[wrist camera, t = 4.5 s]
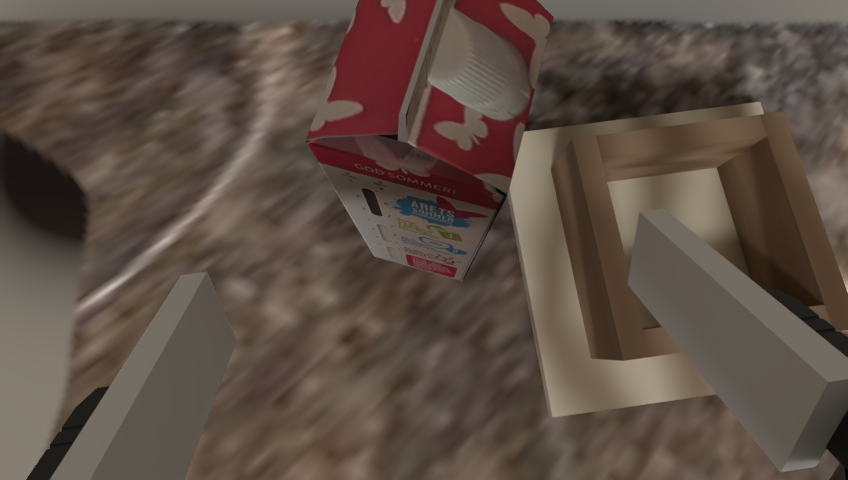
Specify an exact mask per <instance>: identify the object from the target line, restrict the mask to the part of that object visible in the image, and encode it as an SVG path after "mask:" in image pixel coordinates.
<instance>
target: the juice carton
mask: <svg viewBox="0 0 848 480" xmlns="http://www.w3.org/2000/svg"><path fill="white" fill-rule="evenodd" d="M552 20H553V16H552V15H551V14H550V13H549V12H548V11H547V10H545V8H544V7H543V6H542V5H541V4H540V3H539V2H537V1H536V0H359V2H358V4H357V7H356V10H355V12H354V15H353V17H352V20H351V23H350V25H349V28H348V31H347V33H346V36H345V39H344V41H343V44H342V46H341V49H340V52H339V54H338V57H337V60H336V62H335V65H334V68H333V70H332V73H331V76H330V78H329V81H328V83H327V86H326V89H325V91H324V94H323V97H322V99H321V102H320V105H319V107H318V110H317V113H316V115H315V118H314V120H313V123H312V126H311V128H310V131H309V134H308V136H307V139H306V142H307V144H308V145H309V147H310V149H311V151H312V152H313V154H314V156H315V157H316V159H317V161H318V162H319V164H320V166H321V167H322V169H323V171H324V173H325V174H326V176H327V178H328V179H329V181H330V183H331V184H332V186H333V188H334V189H335V191H336V193H337V195H338V196H339V198H340V200H341V201H342V203H343V205H344V206H345V208H346V210H347V211H348V213H349V215H350V217H351V218H352V220H353V222H354V223H355V225H356V227H357V228H358V230H359V232H360V233H361V235H362V237H363V239H364V240H365V242H366V243H367V245H368V247H369V248H370V250H371V252H372V253H373V255H374V256H375V257H378V258H382V259H385V260H389V261H392V262H396V263H399V264H403V265H406V266H410V267H414V268H417V269H421V270H424V271H428V272H431V273H435V274H438V275H442V276H445V277H449V278H452V279H456V280H460V281H463V279H464V278H465V276H466V274H467V272H468V270H469V268H470V266H471V264H472V262H473V260H474V258H475V256H476V255H477V253H478V251H479V249H480V247H481V245H482V243H483V241H484V239H485V237H486V235H487V233H488V231H489V230H490V228H491V226H492V224H493V222H494V220H495V218H496V216H497V214H498V212H499V210H500V208H501V207H502V205H503V203H504V201H505V199H506V197H507V195H508V192H509V188H510V184H511V180H512V176H513V172H514V168H515V164H516V160H517V157H518V153H519V149H520V145H521V141H522V137H523V133H524V129H525V125H526V122H527V118H528V114H529V110H530V106H531V102H532V98H533V94H534V90H535V87H536V83H537V79H538V75H539V71H540V67H541V63H542V59H543V55H544V52H545V48H546V44H547V40H548V36H549V32H550V28H551V24H552Z"/></svg>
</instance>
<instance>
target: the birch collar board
mask: <svg viewBox="0 0 848 480" xmlns="http://www.w3.org/2000/svg"><path fill="white" fill-rule="evenodd" d="M507 196H508V201H509V206H510V212H511V217H512V222H513V228H514V233H515V238H516V244H517V249H518V254H519V260H520V265H521V270H522V276H523V281H524V286H525V292H526V297H527V302H528V308H529V313H530V319H531V324H532V329H533V335H534V340H535V345H536V351H537V356H538V361H539V367H540V372H541V377H542V383H543V388H544V393H545V399H546V404H547V409H548V415H549V416H551V417H559V416H566V415H573V414H580V413H588V412H595V411H602V410H609V409H616V408H623V407H630V406H637V405H644V404H651V403H658V402H665V401H672V400H679V399H686V398H693V397H700V396H707V395H714V394H716V392H715V391H714V390H713V389H712V388H711V386H710V385H709V384H708V383H707V381H706V380H705V379H704V378H703V376H702V375H701V374H700V373H699V372H698V370H697V369H696V368H695V367H694V365H693V364H692V363H691V362H690V360H689V359H688V358H687V357H686V356H685V354H684V353H683V352H682V351H681V349H680V348H679V347H678V346H677V345H676V343H675V342H674V341H673V340H672V338H671V337H670V336H669V335H668V333H667V332H666V331H665V330H664V329H663V327H662V326H661V325H660V324H659V322H658V321H657V320H656V319H655V317H654V316H653V315H652V314H651V313H650V311H649V310H648V309H647V308H646V306H645V305H644V304H643V303H642V302H641V300H640V299H639V298H638V297H637V295H636V294H635V293H634V292H633V290H632V289H631V288H630V287H629V286H628V278H629V272H630V265H631V259H632V253H633V247H634V241H635V235H636V229H637V223H638V217H639V212H642V211H649V210H657V209H665V210H666V211H668V212H669V213H670V214H671V215H672V216H674V217H675V218H676V219H677V220H679V221H680V222H681V223H682V224H684V225H685V226H686V227H687V228H688V229H690V230H691V231H692V232H693V233H695V234H696V235H697V236H698V237H700V238H701V239H702V240H703V241H704V242H706V243H707V244H708V245H709V246H711V247H712V248H713V249H714V250H716V251H717V252H718V253H719V254H720V255H722V256H723V257H724V258H725V259H727V260H728V261H729V262H730V263H732V264H733V265H734V266H735V267H737V268H738V269H739V270H740V271H741V272H743V273H744V274H745V275H746V276H748V277H749V278H750V279H751V280H753V281H754V282H755V283H756V284H757V285H759V286H760V287H761V288H762V289H764V290H770V289H776V290H779V291H781V292H783V293H785V294H787V295H789V296H791V297H793V298H795V299H798V300H800V301H801V302H802V303H804V304H805V305H806V306H808V307H809V308H810V309H811V310H813V311H814V312H815V313H817V314H818V315H819V318H820V319H824V320H826V321H827V322H828V323H830V324H831V325H832V326H834V327H835V330H836V331H841V330H848V293H847V290H846V287H845V285H844V282H843V279H842V276H841V273H840V271H839V268H838V265H837V262H836V259H835V257H834V254H833V251H832V248H831V245H830V243H829V240H828V237H827V234H826V231H825V229H824V226H823V223H822V220H821V217H820V215H819V212H818V209H817V206H816V203H815V200H814V198H813V195H812V192H811V189H810V186H809V184H808V181H807V178H806V175H805V172H804V170H803V167H802V164H801V161H800V158H799V156H798V153H797V150H796V147H795V144H794V142H793V139H792V136H791V133H790V130H789V128H788V125H787V122H786V119H785V116H784V114H783V112H776V113H769V114H764V112H763V109H762V106H761V103H760V102H754V103H746V104H738V105H731V106H723V107H715V108H707V109H699V110H691V111H683V112H676V113H668V114H660V115H652V116H644V117H636V118H628V119H620V120H613V121H605V122H597V123H589V124H581V125H573V126H565V127H557V128H550V129H542V130H534V131H526V132H524V133H523V137H522V141H521V145H520V149H519V153H518V157H517V160H516V164H515V168H514V172H513V176H512V180H511V184H510V188H509V192H508V195H507Z"/></svg>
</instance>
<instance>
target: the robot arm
mask: <svg viewBox="0 0 848 480" xmlns="http://www.w3.org/2000/svg"><path fill="white" fill-rule="evenodd" d="M628 286H629V287H630V288H631V289H632V290H633V292H634V293H635V294H636V295H637V297H638V298H639V299H640V300H641V302H642V303H643V304H644V305H645V306H646V308H647V309H648V310H649V311H650V313H651V314H652V315H653V316H654V317H655V319H656V320H657V321H658V322H659V324H660V325H661V326H662V327H663V329H664V330H665V331H666V332H667V333H668V335H669V336H670V337H671V338H672V340H673V341H674V342H675V343H676V345H677V346H678V347H679V348H680V349H681V351H682V352H683V353H684V354H685V356H686V357H687V358H688V359H689V360H690V362H691V363H692V364H693V365H694V367H695V368H696V369H697V370H698V372H699V373H700V374H701V375H702V376H703V378H704V379H705V380H706V381H707V383H708V384H709V385H710V386H711V388H712V389H713V390H714V391H715V392H716V394H717V395H718V396H719V397H720V399H721V400H722V401H723V402H724V403H725V405H726V406H727V407H728V408H729V410H730V411H731V412H732V413H733V415H734V416H735V417H736V418H737V419H738V421H739V422H740V423H741V424H742V426H743V427H744V428H745V429H746V431H747V432H748V433H749V434H750V435H751V437H752V438H753V439H754V440H755V442H756V443H757V444H758V445H759V446H760V448H761V449H762V450H763V451H764V453H765V454H766V455H767V456H768V458H769V459H770V460H771V461H772V462H773V464H774V465H775V466H776V467H777V469H778V470H779V471H780V472H785V471H792V470H798V469H805V468H811V467H816V466H817V464H818V462H819V461H820V459H821V457H822V455H823V454H824V452H825V450H826V449H828V450H829V451H830V452H831V453H832V455H833V456H834V457H835V458H836V459H837V460H838V461H839V462H840V464H839V466H838V467H837V469H836V471H835V472H834V474H833V475H832V477H831V478H830V480H848V337H847V336H845V335H844V334H843V333H841V332H840V331H836V330H835V327H834V326H832V325H831V324H830V323H828V322H827V321H826V320H824V319H820V318H819V315H818V314H817V313H815V312H814V311H813V310H811V309H810V308H809V307H808V306H806V305H805V304H804V303H802V302H801V301H800V300H798V299H795V298H793V297H791V296H789V295H787V294H785V293H783V292H781V291H779V290H776V289H770V290H764V289H762V288H761V287H760V286H759V285H757V284H756V283H755V282H754V281H753V280H751V279H750V278H749V277H748V276H746V275H745V274H744V273H743V272H741V271H740V270H739V269H738V268H737V267H735V266H734V265H733V264H732V263H730V262H729V261H728V260H727V259H725V258H724V257H723V256H722V255H720V254H719V253H718V252H717V251H716V250H714V249H713V248H712V247H711V246H709V245H708V244H707V243H706V242H704V241H703V240H702V239H701V238H700V237H698V236H697V235H696V234H695V233H693V232H692V231H691V230H690V229H688V228H687V227H686V226H685V225H684V224H682V223H681V222H680V221H679V220H677V219H676V218H675V217H674V216H672V215H671V214H670V213H669V212H668V211H666V210H665V209H657V210H649V211H642V212H639V217H638V223H637V229H636V235H635V241H634V247H633V253H632V259H631V265H630V272H629V278H628ZM236 341H237V339H236V337H235V335H234V333H233V330H232V328H231V326H230V323H229V321H228V319H227V317H226V314H225V312H224V310H223V307H222V305H221V303H220V301H219V298H218V296H217V294H216V291H215V289H214V287H213V284H212V282H211V280H210V278H209V275H208V273H207V272H202V273H195V274H188V275H181V276H180V278H179V279H178V281H177V283H176V284H175V286H174V287H173V289H172V290H171V292H170V293H169V295H168V297H167V298H166V300H165V301H164V303H163V304H162V306H161V307H160V309H159V311H158V312H157V314H156V315H155V317H154V318H153V320H152V321H151V323H150V325H149V326H148V328H147V329H146V331H145V332H144V334H143V335H142V337H141V339H140V340H139V342H138V343H137V345H136V346H135V348H134V349H133V351H132V353H131V354H130V356H129V357H128V359H127V360H126V362H125V363H124V365H123V367H122V368H121V370H120V371H119V373H118V374H117V376H116V377H115V379H114V381H113V382H112V384H111V385H110V386H108V387H101V388H97V389H96V390H94V391H93V392H92V393H91V394H90V395H89V396H88V397H87V398H86V399H85V400H83V401H82V402H81V403H80V404H79V405H78V406H77V407H76V408H75V409H74V411H73V412H72V414H71V415H70V417H69V418H68V420H67V421H66V423H65V424H64V425H63V427H62V432H59V433H58V434H57V436H56V437H55V438H54V440H53V441H52V443H51V444H50V449H48V450H46V452H45V453H44V454H43V456H42V457H41V459H40V460H39V462H38V463H37V465H36V466H35V467H34V469H33V470H32V472H31V473H30V475H29V476H28V478H27V479H26V480H184V479H185V476H186V473H187V471H188V468H189V465H190V463H191V460H192V457H193V455H194V452H195V449H196V447H197V444H198V441H199V439H200V436H201V434H202V431H203V428H204V426H205V423H206V420H207V418H208V415H209V412H210V410H211V407H212V404H213V402H214V399H215V396H216V394H217V391H218V388H219V386H220V383H221V381H222V378H223V375H224V373H225V370H226V367H227V365H228V362H229V359H230V357H231V354H232V351H233V349H234V346H235V343H236Z"/></svg>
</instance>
